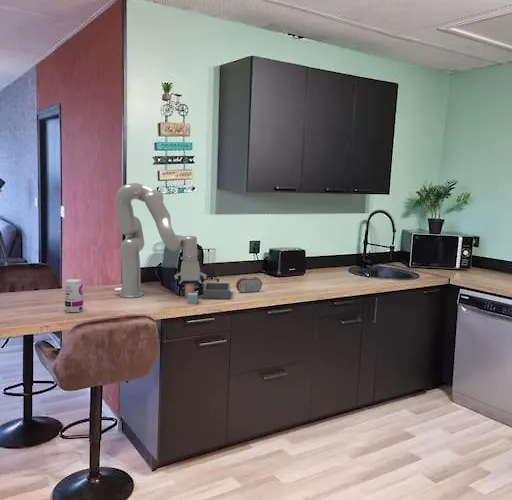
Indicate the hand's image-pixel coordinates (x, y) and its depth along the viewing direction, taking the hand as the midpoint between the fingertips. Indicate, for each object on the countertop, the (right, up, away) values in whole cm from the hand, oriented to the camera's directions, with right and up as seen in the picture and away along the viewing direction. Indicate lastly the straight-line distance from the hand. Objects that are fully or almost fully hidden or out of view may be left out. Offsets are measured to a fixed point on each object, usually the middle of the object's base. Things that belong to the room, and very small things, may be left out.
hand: (190, 290), depth 282 cm
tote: (+13, -3, +7) cm, 16 cm away
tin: (+31, -2, +17) cm, 35 cm away
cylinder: (-1, -4, +1) cm, 4 cm away
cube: (+2, -6, -10) cm, 12 cm away
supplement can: (-52, -8, -30) cm, 61 cm away
